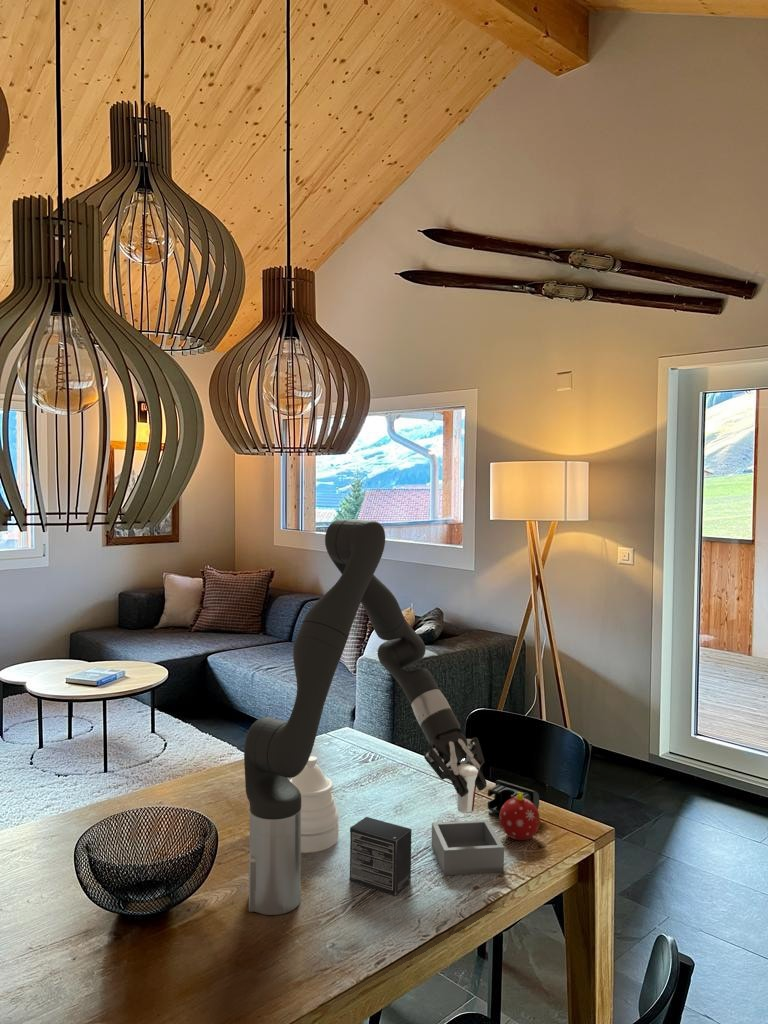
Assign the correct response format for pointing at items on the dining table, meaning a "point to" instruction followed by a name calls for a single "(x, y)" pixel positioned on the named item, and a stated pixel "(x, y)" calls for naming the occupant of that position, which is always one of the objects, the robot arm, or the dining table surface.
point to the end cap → (508, 796)
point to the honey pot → (316, 809)
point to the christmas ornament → (519, 818)
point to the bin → (467, 847)
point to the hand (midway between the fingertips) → (474, 791)
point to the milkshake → (470, 780)
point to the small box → (380, 855)
